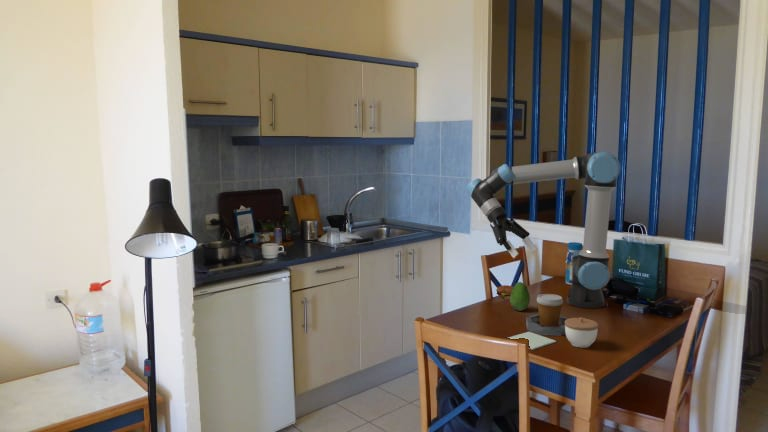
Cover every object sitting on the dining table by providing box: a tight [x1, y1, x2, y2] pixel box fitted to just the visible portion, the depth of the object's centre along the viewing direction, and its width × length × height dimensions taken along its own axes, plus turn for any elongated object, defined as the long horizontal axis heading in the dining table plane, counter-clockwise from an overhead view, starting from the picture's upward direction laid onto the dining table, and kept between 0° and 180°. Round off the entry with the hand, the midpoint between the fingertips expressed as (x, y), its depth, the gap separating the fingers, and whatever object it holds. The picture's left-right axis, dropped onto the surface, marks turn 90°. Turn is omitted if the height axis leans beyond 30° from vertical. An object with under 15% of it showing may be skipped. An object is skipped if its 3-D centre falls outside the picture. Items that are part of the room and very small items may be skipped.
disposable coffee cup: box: [536, 293, 564, 326], centre depth 205 cm, size 10×10×12 cm
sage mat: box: [508, 331, 557, 350], centre depth 192 cm, size 12×12×1 cm
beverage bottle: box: [564, 241, 583, 286], centre depth 271 cm, size 8×8×20 cm
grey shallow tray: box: [525, 313, 571, 337], centre depth 205 cm, size 16×16×3 cm
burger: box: [495, 284, 514, 300], centre depth 250 cm, size 10×9×5 cm
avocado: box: [509, 281, 531, 312], centre depth 228 cm, size 8×8×12 cm
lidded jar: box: [565, 317, 599, 349], centre depth 188 cm, size 11×11×9 cm
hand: (525, 253), depth 215 cm, fingers open, 13 cm apart
